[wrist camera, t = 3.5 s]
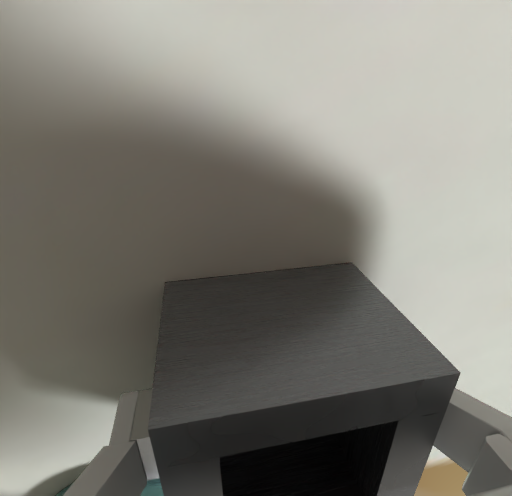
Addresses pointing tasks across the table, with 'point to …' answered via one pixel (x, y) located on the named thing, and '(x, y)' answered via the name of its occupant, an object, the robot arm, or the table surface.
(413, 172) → the table surface
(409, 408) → the hollow grey cube
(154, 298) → the table surface
